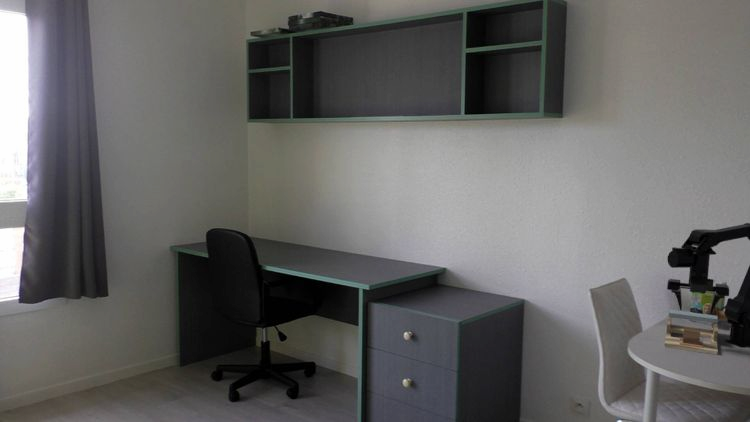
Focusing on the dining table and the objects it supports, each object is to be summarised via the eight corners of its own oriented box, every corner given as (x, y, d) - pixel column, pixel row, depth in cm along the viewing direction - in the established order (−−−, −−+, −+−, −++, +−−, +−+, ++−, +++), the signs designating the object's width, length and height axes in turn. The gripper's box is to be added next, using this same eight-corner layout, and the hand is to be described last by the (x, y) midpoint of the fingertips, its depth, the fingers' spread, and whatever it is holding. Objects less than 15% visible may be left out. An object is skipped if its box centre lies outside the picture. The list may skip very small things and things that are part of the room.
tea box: (716, 326, 245) (720, 288, 243) (688, 320, 251) (691, 283, 249) (723, 317, 257) (727, 281, 255) (696, 312, 263) (699, 277, 261)
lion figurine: (702, 327, 242) (704, 304, 241) (700, 323, 247) (702, 301, 246) (746, 332, 238) (748, 308, 237) (743, 328, 243) (745, 305, 242)
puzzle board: (717, 354, 212) (718, 341, 212) (664, 346, 219) (665, 333, 219) (715, 334, 235) (716, 321, 234) (667, 327, 242) (668, 314, 241)
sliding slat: (717, 323, 231) (717, 319, 230) (668, 316, 238) (668, 312, 238) (717, 320, 235) (717, 315, 235) (669, 313, 242) (669, 309, 242)
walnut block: (699, 345, 216) (700, 332, 216) (682, 342, 219) (683, 329, 218) (699, 341, 221) (700, 328, 220) (683, 338, 223) (684, 326, 222)
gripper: (668, 268, 215) (665, 314, 217) (732, 274, 207) (727, 321, 209) (669, 262, 225) (666, 306, 227) (730, 268, 217) (726, 313, 219)
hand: (695, 311), depth 220 cm, fingers open, 9 cm apart
